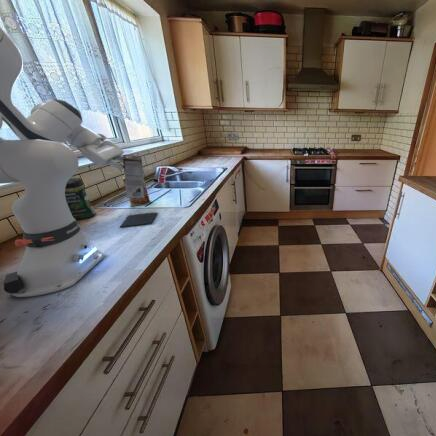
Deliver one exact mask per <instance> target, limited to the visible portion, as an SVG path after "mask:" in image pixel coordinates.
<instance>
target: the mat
mask: <svg viewBox="0 0 436 436" xmlns="http://www.w3.org/2000/svg"><path fill="white" fill-rule="evenodd" d="M157 214H158V212H145V213H138V214H137V213H136V214H128V215H127V217H126V219H125V220H124V221H122V224H121V225H120V226H119V227H120V228H129V227H138V226H147V225H152V223H154V220H155V218H156V217H157Z"/></svg>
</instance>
